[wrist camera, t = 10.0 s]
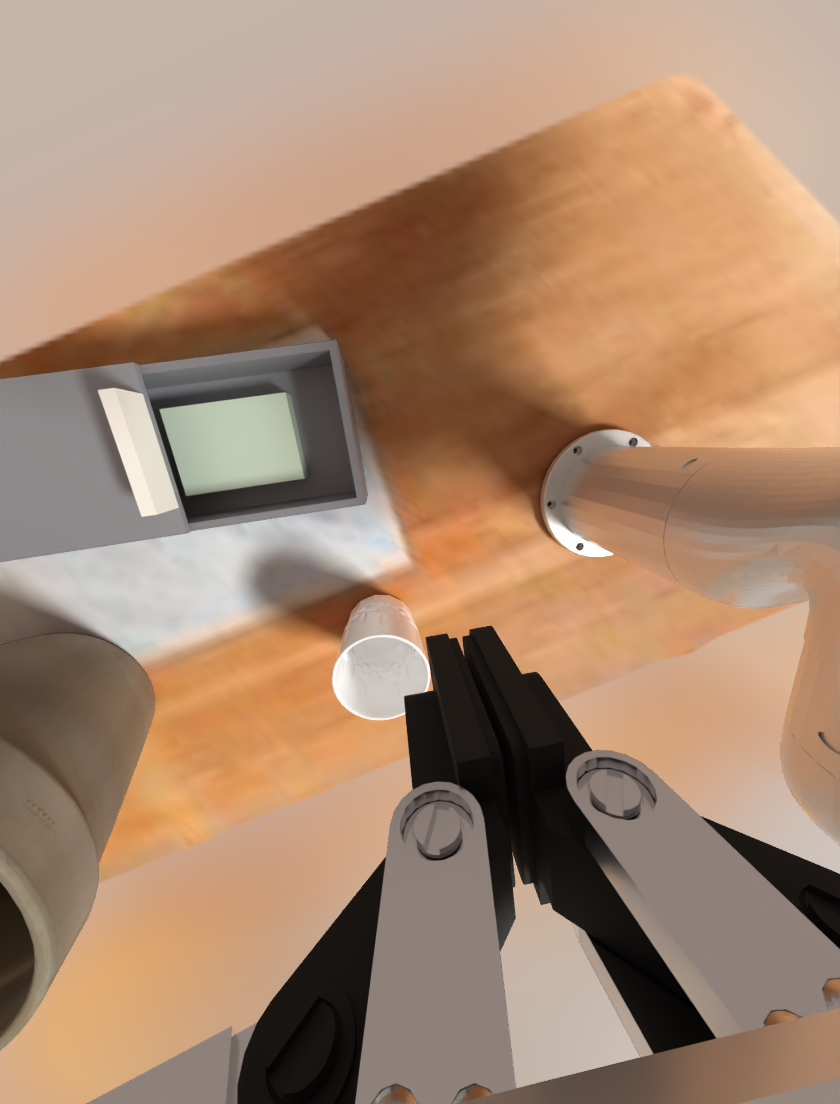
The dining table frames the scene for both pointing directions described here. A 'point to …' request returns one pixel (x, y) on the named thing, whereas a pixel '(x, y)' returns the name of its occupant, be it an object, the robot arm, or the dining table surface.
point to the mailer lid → (82, 463)
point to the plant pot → (59, 797)
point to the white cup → (379, 659)
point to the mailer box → (258, 433)
